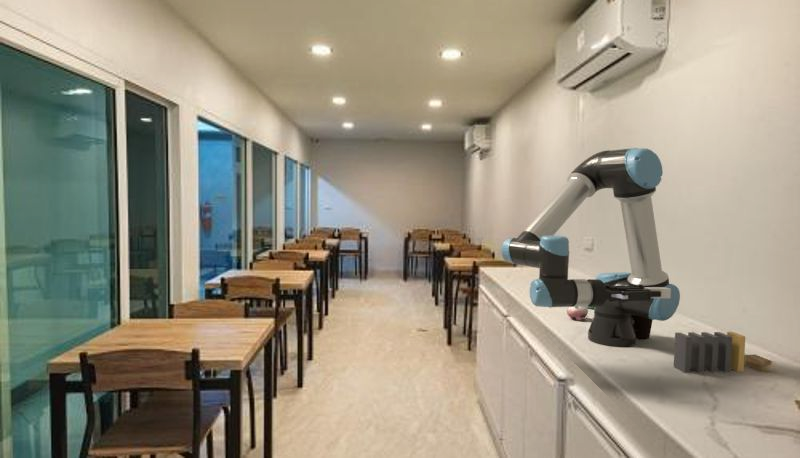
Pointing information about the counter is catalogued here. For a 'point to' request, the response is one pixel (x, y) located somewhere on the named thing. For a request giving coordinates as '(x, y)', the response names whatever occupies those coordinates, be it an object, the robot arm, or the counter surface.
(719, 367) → the domino
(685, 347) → the domino
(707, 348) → the domino
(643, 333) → the coffee mug
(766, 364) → the block
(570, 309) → the onion
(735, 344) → the domino
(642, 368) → the counter surface
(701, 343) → the domino
